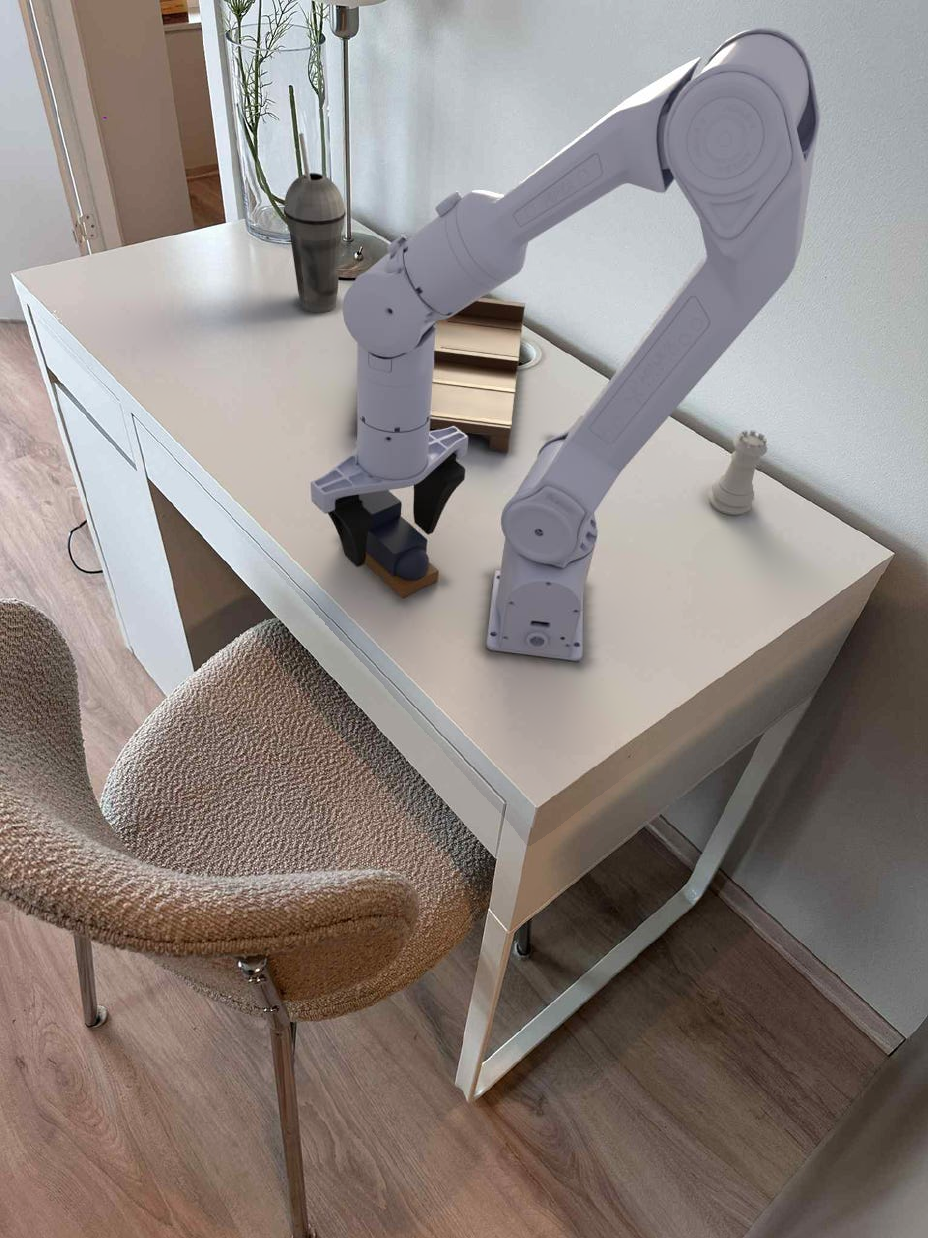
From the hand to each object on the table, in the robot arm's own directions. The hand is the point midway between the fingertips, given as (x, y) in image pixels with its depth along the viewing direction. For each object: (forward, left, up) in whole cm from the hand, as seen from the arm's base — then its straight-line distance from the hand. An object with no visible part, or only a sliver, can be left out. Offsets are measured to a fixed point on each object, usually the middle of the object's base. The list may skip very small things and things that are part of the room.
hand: (390, 543), depth 79 cm
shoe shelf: (+31, -2, -2) cm, 31 cm away
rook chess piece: (+15, -33, -2) cm, 36 cm away
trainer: (0, 0, -2) cm, 2 cm away
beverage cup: (+46, +16, -2) cm, 49 cm away
